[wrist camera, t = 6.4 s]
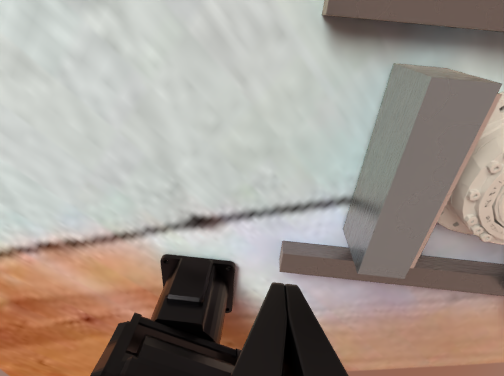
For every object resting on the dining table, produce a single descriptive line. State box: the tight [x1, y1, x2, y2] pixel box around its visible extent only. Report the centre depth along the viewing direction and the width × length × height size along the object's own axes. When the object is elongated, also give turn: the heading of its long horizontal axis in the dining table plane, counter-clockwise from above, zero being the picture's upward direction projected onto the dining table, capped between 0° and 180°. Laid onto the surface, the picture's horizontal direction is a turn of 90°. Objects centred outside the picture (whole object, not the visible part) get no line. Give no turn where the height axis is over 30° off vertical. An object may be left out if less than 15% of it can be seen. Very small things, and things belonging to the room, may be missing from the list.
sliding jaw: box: [343, 63, 502, 279], centre depth 17 cm, size 12×4×5 cm, turn 175°
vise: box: [279, 0, 504, 296], centre depth 17 cm, size 20×22×4 cm
